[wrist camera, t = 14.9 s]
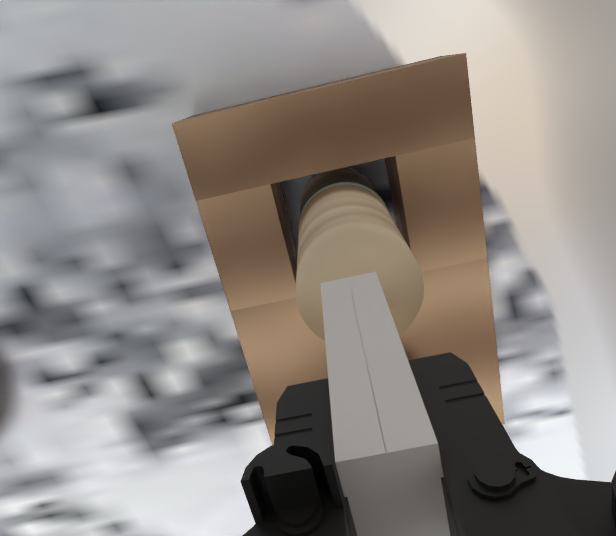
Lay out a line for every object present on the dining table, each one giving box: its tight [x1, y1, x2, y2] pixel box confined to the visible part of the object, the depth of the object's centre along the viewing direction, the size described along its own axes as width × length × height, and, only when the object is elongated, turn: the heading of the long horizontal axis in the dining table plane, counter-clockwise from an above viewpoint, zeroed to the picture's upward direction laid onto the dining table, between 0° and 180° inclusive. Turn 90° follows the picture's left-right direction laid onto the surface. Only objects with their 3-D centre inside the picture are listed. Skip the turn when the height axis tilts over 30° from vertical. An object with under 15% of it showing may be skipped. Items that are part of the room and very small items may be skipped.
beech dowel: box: [295, 167, 424, 341], centre depth 21 cm, size 4×4×11 cm
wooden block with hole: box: [172, 53, 505, 445], centre depth 24 cm, size 18×12×6 cm, turn 13°
